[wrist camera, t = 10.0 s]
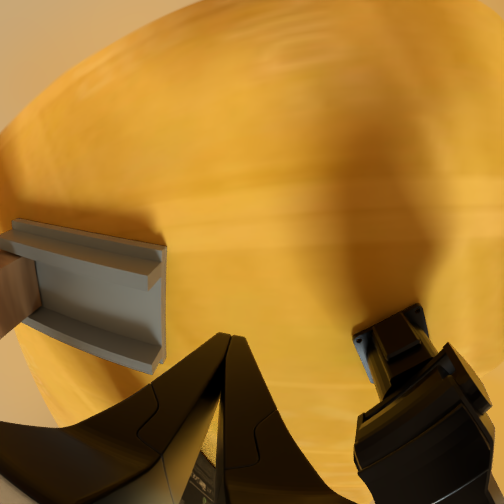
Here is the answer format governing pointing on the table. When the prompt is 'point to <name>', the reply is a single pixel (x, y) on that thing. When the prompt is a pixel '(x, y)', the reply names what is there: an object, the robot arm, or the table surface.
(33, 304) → the block
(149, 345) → the chute
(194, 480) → the graphics card box
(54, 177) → the table surface
